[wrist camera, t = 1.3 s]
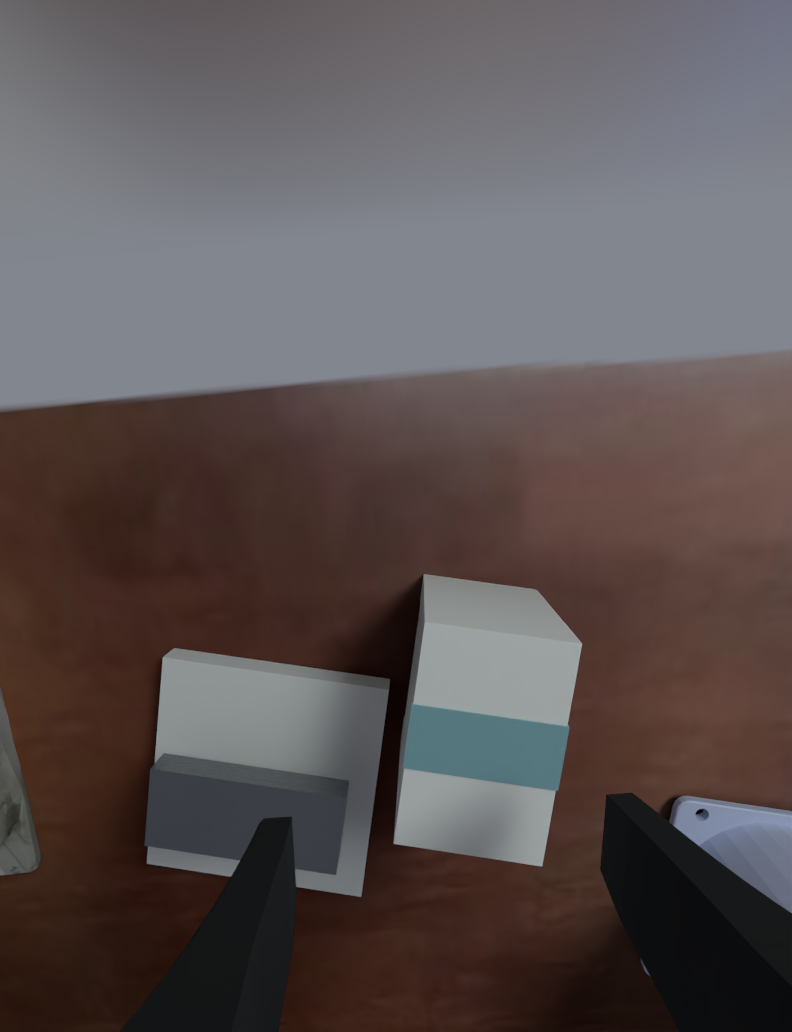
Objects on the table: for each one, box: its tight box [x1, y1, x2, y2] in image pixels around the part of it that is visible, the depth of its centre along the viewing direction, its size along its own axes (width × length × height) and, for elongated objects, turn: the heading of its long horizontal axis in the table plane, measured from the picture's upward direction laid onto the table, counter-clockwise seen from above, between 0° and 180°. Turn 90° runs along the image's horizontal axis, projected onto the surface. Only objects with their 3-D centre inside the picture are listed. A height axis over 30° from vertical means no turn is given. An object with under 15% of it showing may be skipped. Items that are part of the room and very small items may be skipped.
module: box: [394, 574, 582, 866], centre depth 19 cm, size 5×7×6 cm, turn 172°
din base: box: [147, 648, 390, 897], centre depth 22 cm, size 9×9×1 cm
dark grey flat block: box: [144, 753, 349, 875], centre depth 20 cm, size 7×3×1 cm, turn 82°
